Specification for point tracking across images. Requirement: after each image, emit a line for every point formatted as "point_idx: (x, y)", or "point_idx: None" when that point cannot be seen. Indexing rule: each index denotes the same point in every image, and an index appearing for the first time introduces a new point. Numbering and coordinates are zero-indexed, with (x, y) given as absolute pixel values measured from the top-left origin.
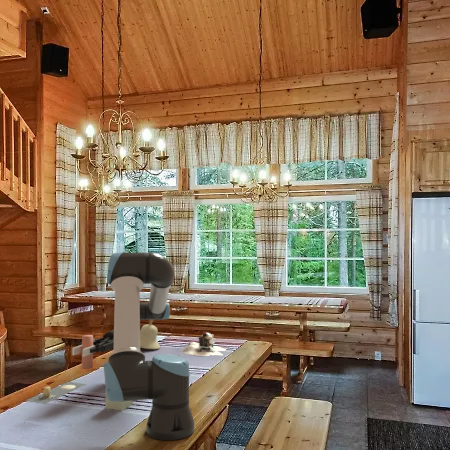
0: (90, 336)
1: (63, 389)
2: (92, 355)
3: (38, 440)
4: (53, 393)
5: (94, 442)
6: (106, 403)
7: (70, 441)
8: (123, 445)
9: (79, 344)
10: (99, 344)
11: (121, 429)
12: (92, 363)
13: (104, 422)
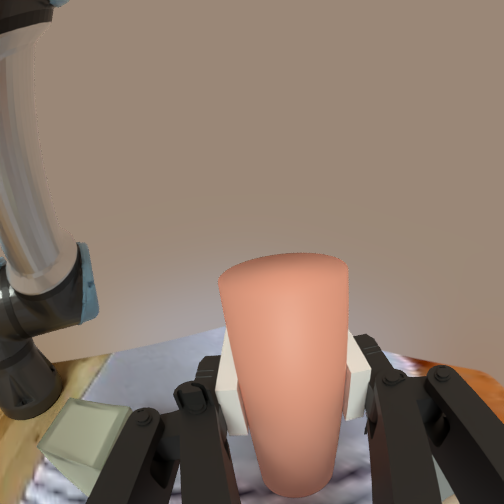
0: (230, 272)
1: (450, 498)
2: (252, 439)
3: (224, 335)
4: (435, 460)
5: (135, 353)
6: None
7: (172, 346)
8: (94, 356)
9: (435, 373)
10: (201, 450)
11: (101, 389)
12: (260, 470)
13: (140, 405)
